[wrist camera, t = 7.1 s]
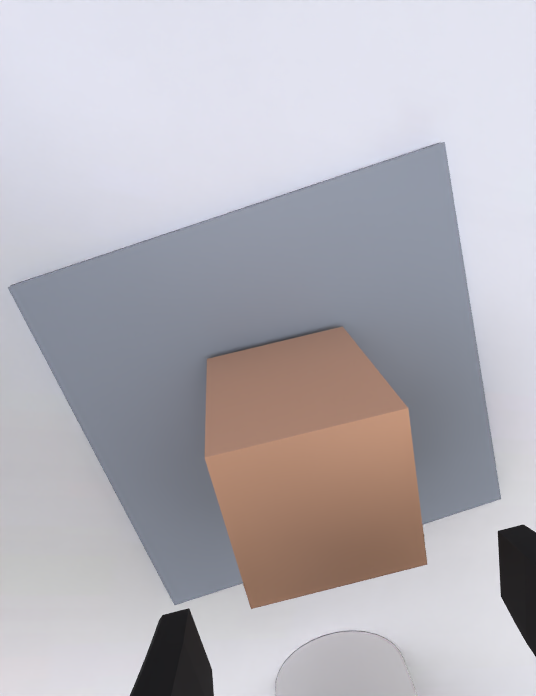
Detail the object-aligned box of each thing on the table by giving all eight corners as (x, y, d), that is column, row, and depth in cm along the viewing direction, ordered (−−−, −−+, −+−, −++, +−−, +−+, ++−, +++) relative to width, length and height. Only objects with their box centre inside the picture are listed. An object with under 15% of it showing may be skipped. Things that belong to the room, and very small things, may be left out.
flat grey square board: (175, 598, 23) (161, 766, 17) (12, 285, 18) (-106, 356, 11) (496, 493, 23) (607, 622, 17) (439, 142, 17) (575, 130, 11)
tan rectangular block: (239, 473, 20) (251, 608, 14) (206, 358, 18) (204, 457, 12) (361, 442, 20) (427, 564, 14) (342, 326, 18) (408, 407, 12)
